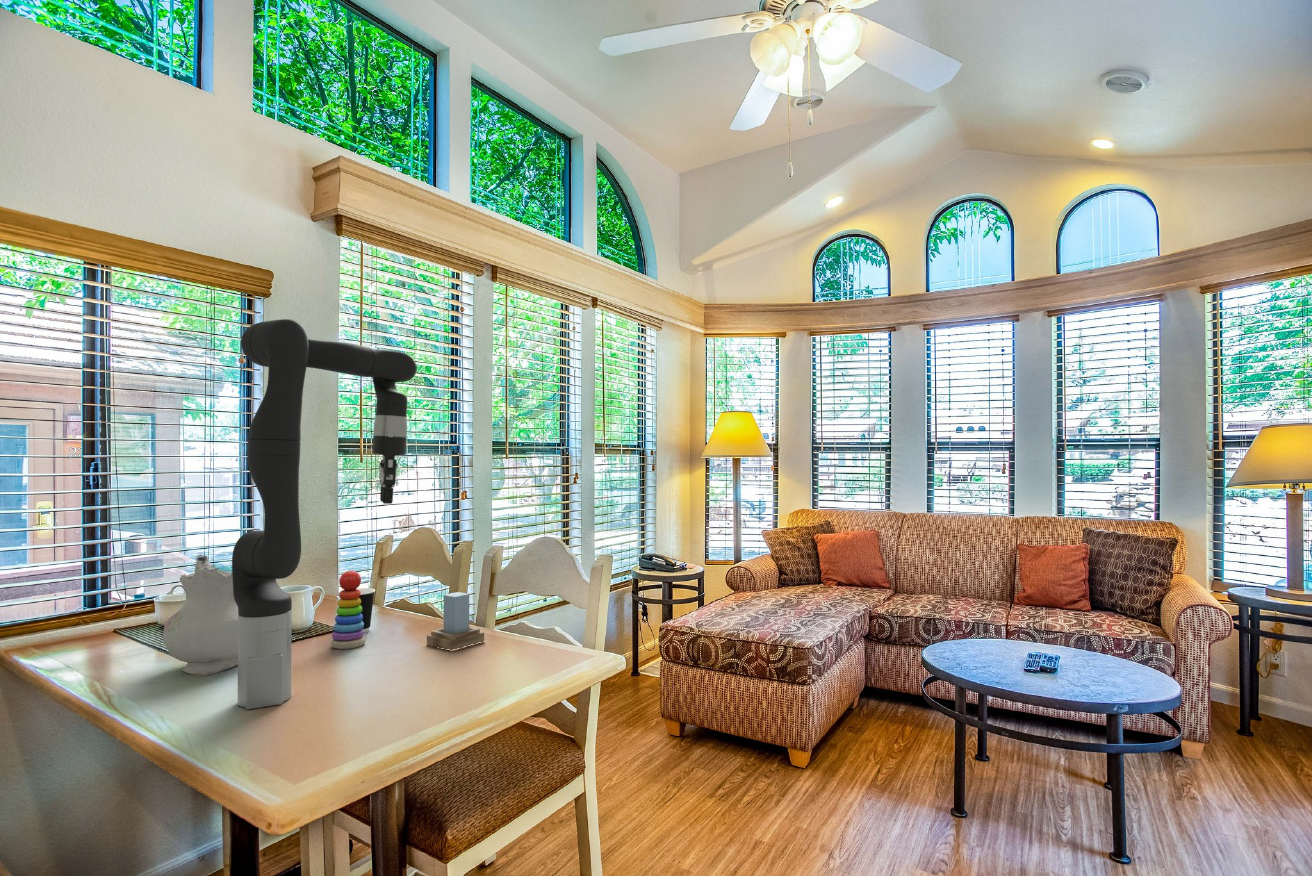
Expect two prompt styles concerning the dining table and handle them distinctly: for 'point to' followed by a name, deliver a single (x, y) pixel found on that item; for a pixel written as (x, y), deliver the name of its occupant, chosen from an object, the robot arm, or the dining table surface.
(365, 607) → the dixie cup
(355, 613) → the stacking toy
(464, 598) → the slate-blue pillar
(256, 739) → the dining table surface
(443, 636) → the walnut socket base
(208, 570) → the ceramic pitcher
